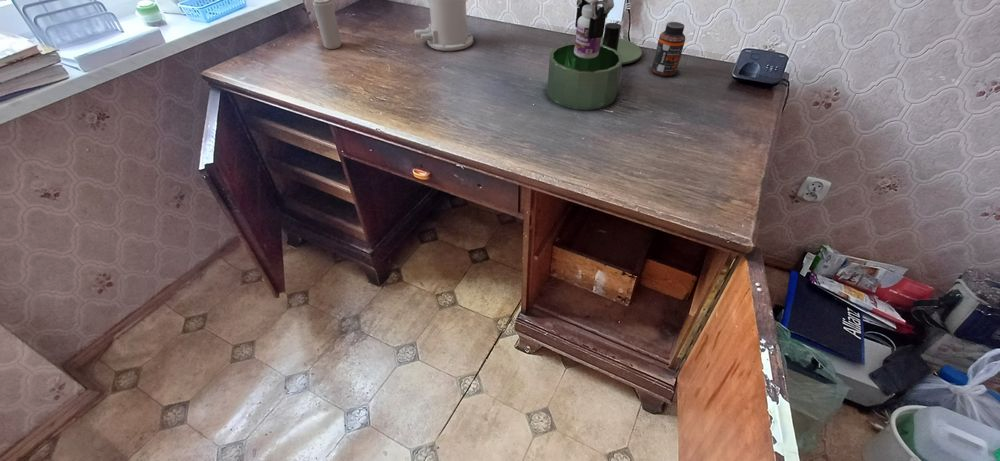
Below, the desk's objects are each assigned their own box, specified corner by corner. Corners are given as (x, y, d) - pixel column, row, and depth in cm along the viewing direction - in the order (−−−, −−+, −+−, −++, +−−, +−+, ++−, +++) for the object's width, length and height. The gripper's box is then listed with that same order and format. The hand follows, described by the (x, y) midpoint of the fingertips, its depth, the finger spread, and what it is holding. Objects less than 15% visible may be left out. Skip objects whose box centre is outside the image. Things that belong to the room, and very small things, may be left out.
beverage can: (320, 48, 126) (307, 0, 117) (331, 41, 129) (319, -5, 121) (335, 51, 124) (323, 3, 116) (346, 44, 128) (335, -3, 119)
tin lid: (594, 70, 115) (598, 41, 110) (567, 45, 127) (569, 18, 122) (653, 62, 119) (659, 33, 114) (621, 38, 130) (626, 11, 125)
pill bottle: (570, 56, 100) (574, 9, 93) (578, 47, 103) (584, 1, 97) (593, 61, 98) (600, 13, 92) (602, 52, 102) (609, 5, 95)
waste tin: (563, 114, 100) (567, 76, 94) (537, 82, 111) (539, 47, 105) (628, 103, 103) (635, 66, 97) (597, 74, 114) (602, 39, 108)
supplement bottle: (662, 79, 112) (674, 31, 104) (646, 69, 116) (656, 22, 108) (681, 74, 114) (694, 26, 106) (664, 64, 118) (676, 18, 110)
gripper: (564, -77, 90) (556, 20, 103) (604, -57, 78) (590, 50, 91) (599, -80, 92) (587, 16, 104) (643, -60, 80) (624, 45, 92)
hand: (588, 31), depth 97 cm, fingers closed on pill bottle, 5 cm apart
